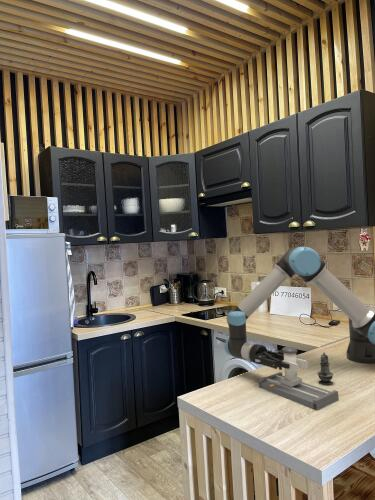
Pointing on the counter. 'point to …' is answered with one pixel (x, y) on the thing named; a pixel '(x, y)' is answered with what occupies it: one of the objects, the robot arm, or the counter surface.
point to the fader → (290, 375)
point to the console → (299, 392)
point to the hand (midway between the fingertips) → (302, 366)
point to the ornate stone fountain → (325, 371)
